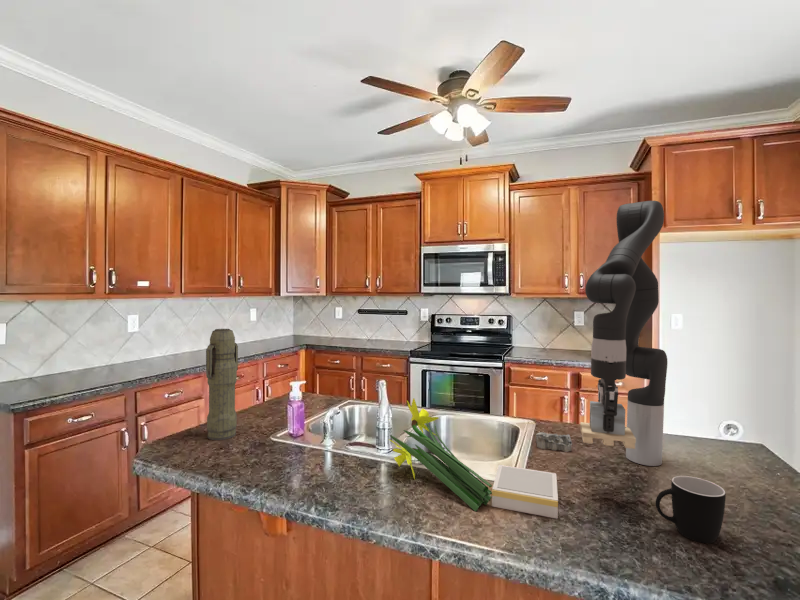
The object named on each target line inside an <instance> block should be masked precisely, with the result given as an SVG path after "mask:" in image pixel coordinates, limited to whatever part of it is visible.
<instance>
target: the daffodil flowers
mask: <svg viewBox="0 0 800 600" xmlns="http://www.w3.org/2000/svg"><path fill="white" fill-rule="evenodd" d="M406 402H407V406H408V407H407V408H408V410H409V412H410V413H411V415H412V417H411V419H410V421H411V423H410V424H411V428H412V430H413V431H414V433H413V432H412V431H408V430H405V429H404V430H403V432H404V433H405V434H407V436H406V438H412V439H414V440H415V441H416V442H418V443H419V444H421V445H423V446H424V447H425V448H426V449H428V450H429V451H430V452H427V451H426V450H424V449H422V448H421V447H420V446H419V445H417V444H414V445H415V447H416V448H415V447H411V446H409V445H408V444H407V443H405V442H404V441H402V440H400V439H399V438H397V437H395V436H393V435H389V436H390V438H391V439H389V441H390V442H392V443H393V444H394V445H395V448H393V449H392V451H393V452H395V453H398V456H395V457H393V459H394V460H395V463H397V464H396V465H398V467H401V466H402V465H403V463H405V461H406V463H407V465H409V466H410V469H411V472H412V475H413V479H414V480H416V479H415V477H416V473H415V470H414V467H413V462H412V461H413V459H412V457H413V458H415V459H416V460H415V462H420V464H421V465H422V466H424V467H425V468H426V469H427V470H428V471H429V472H430V473H432V474H433V475H434V476H435V477H436V478H437V479H439V481H441V482H442V483H443V484H444V485H445V486H446V487H447V488H449V490H451V491H452V492H453V493H454V494H455V495H456V496H458V498H460V499H461V500H462V501H463V502H465V504H466V505H467V506H469V508H470V509H472V510H473V511H474V512H478V510H479V508H480V507H481V506H482V504H483V505H484V506H487V505H488V503H489V502H490V501H491V500H492V490H490V489H489V488H493V485H492V484H491V483H489V481H487V480H486V479H484V478H483V477H482V476H481V475H479V474H478V473H477V472H476V471H474V470H473V469H471V468H470V467H469V466H467V465H466V464H464V463H463V462H462V461H461V460H459V459H458V458H457V457H456V456H455V454H454V453H453V452H452V451H451V450H450V449H449V448H448V447H447V445H446V443H444V441H443V440H442V438H441V437H440V436H439V434H438V431H437V426H436V422H435V421H436V420H438V419H440V418H439V417H438V416H430V413H429V411H428V410H426V409H425V408H421V410H420V411H419V409H418V406H417V402H416V400H415V398H412V402H411V404H410V402H409V401H408V400H406ZM432 422H434V431H435V433H434V432H433V431H432V430H431V426H430V425H429V423H432ZM424 430H426V431H427V432H428V433H429V434H430V437H429V436H427V435H426V434H424ZM435 436H436V437H437V439H438V440H439V441H438V440H437V439H436V437H435ZM396 447H397V448H396Z"/></svg>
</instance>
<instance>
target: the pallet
mask: <svg viewBox="0 0 800 600" xmlns="http://www.w3.org/2000/svg"><path fill="white" fill-rule="evenodd" d="M607 410H612V407H610V406H608V408H607ZM579 427H580V434H581V439H582V443H584V444H589V445H590V444H592V445H593V443H594V442H593V440H594V439H598V440H601V442H602V443H603V446H608V447H614V446H615V445H614V444H615V443H614V441H616V442H622V444H623V446H624V448H625V449H626V448H631V449H635V443H636V438H635V437H634V435H633V433H632V432H631V430H630V428H629V427H627V426H626V409H625V407H624V406H623V404H622V403H617V416H614V431H613V432H607V431H604V430H603V405H601V402H598V401H591V400H589V422H582V421H580V425H579Z"/></svg>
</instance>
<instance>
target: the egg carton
mask: <svg viewBox="0 0 800 600" xmlns="http://www.w3.org/2000/svg"><path fill="white" fill-rule="evenodd" d="M535 436H536V438H535V443H536V448H539V449H541V450H547V449H548V450H552V451H563V452H567V453H568V452H571V451H572V446H573V442H572V439H571V436H570V434H569V433H568V434H558V433H547V432H544V431H543V432H541V431H539V432H538V433H536V434H535Z"/></svg>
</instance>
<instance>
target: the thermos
mask: <svg viewBox="0 0 800 600" xmlns="http://www.w3.org/2000/svg"><path fill="white" fill-rule="evenodd" d="M238 358H239V346H238V343H236V337H235V334H234V331H233V329H231V328H216V329H214V330H212V331H211V334H210V337H209V345H207V348H206V350H205V374H206V377H205V378H206V379H207V385H208V414H207V415H206V416H207V417H206V430H207V439H209V440H212V441H220V440H221V441H222V440H228V439H231V438H234V437H235V436H236V435H237V429H236V428H237V421H238V420H237V419H238V418H237V417H238V416H237V415H238V414H237V412H236V384H237V381H238V380H237V379H238V377H237V375H238V374H237V372H238V367H239V359H238Z"/></svg>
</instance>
